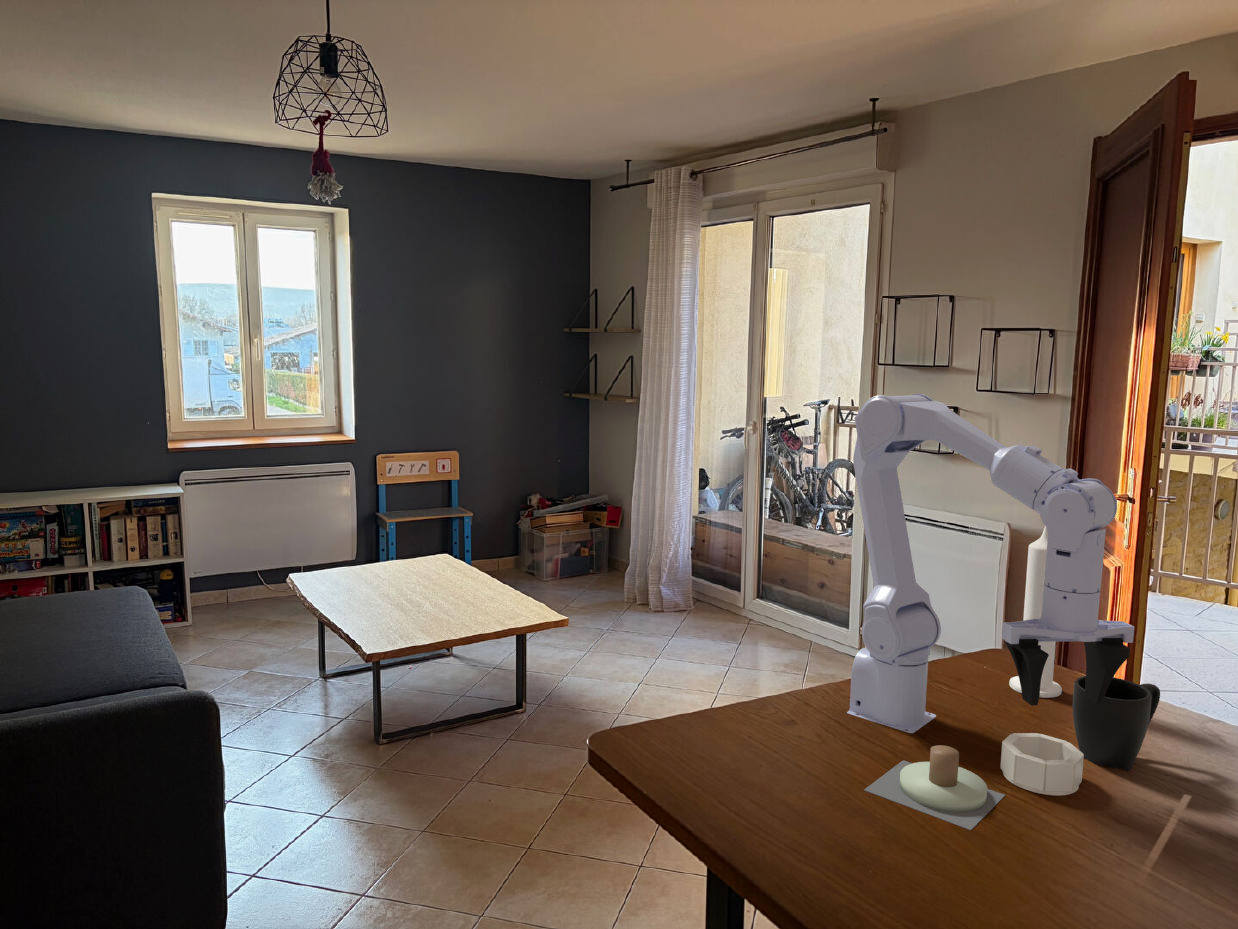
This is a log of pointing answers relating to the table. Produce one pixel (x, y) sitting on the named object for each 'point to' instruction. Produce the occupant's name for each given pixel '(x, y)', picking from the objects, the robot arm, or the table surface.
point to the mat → (891, 790)
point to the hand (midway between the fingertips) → (1061, 701)
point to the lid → (943, 782)
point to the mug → (1114, 721)
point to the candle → (1038, 614)
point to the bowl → (1042, 763)
